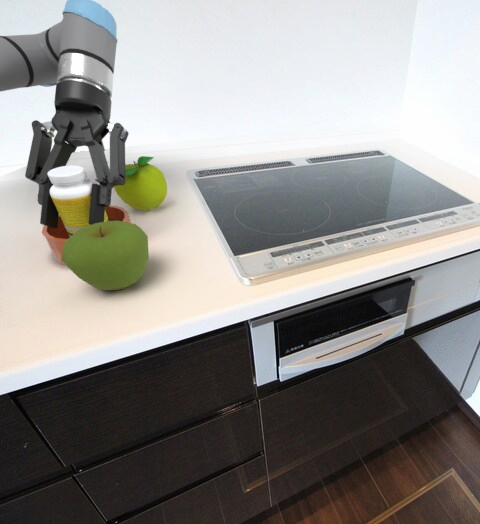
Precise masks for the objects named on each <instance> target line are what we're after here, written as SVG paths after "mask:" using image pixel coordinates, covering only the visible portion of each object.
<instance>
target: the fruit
mask: <svg viewBox="0 0 480 524" xmlns="http://www.w3.org/2000/svg"><path fill="white" fill-rule="evenodd" d="M153 159H155V157H153V156H144V155H142V156H139V157H138V158H137V162H136V161H135V160H133V161H132V162H133V163H129V164H128V163H127V164H125V178H126V182H125V184H124V185H117V186H114V187H113V188H114V191H115V194H116V195H117V196H118V198H119V199H121V201H123V203H124V204H125V205H127V206H128V207H130V208H132V209H133V210H137V211H144V212H148V211H151V210H153V209H154V210H155V209H156V208H157V209H158V207H160V206H161V205H162V204H163V202H165V200H166V198H167V195H168V185H167V180H166V176H165V175H164V173H163V171H162V170H160V168H159V167H157V166H155V165H153V164H151V163H150V161H152V160H153Z"/></svg>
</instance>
